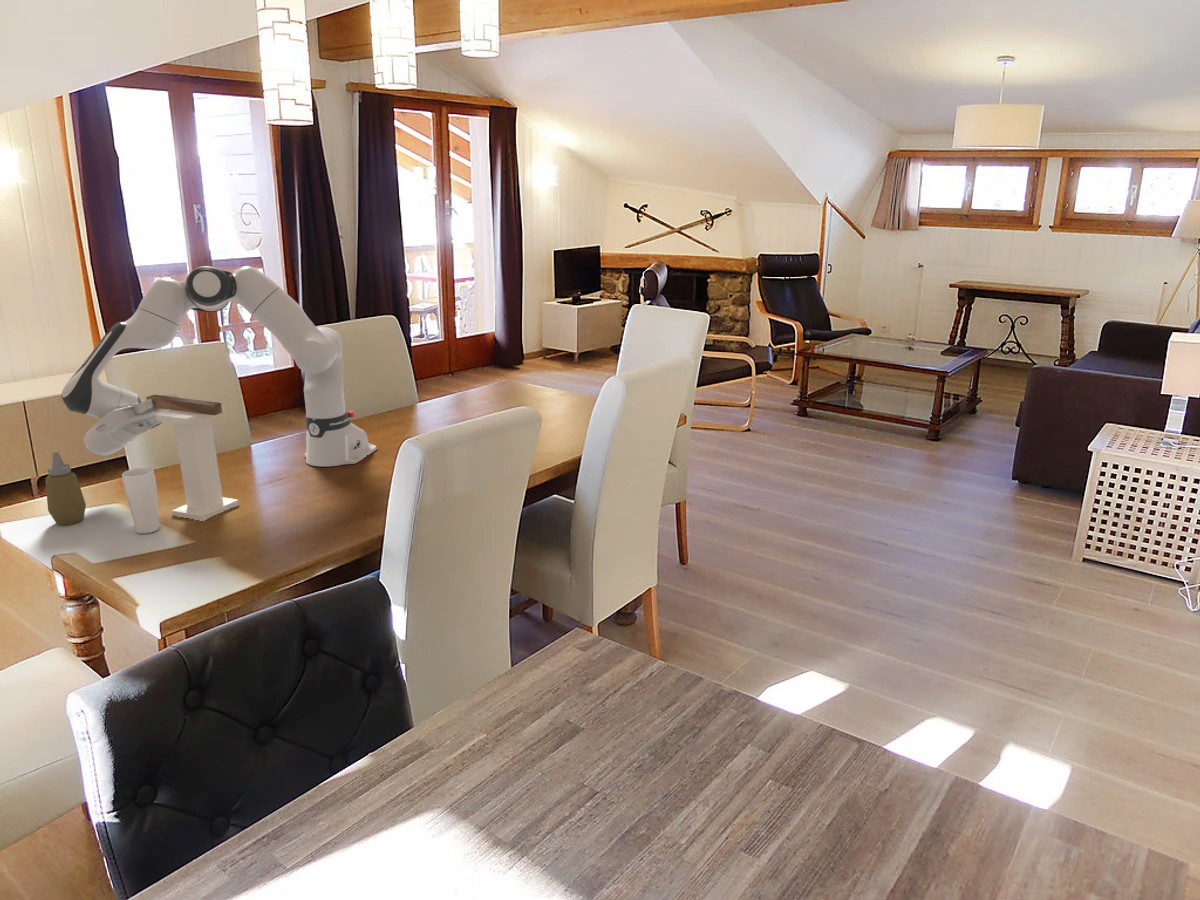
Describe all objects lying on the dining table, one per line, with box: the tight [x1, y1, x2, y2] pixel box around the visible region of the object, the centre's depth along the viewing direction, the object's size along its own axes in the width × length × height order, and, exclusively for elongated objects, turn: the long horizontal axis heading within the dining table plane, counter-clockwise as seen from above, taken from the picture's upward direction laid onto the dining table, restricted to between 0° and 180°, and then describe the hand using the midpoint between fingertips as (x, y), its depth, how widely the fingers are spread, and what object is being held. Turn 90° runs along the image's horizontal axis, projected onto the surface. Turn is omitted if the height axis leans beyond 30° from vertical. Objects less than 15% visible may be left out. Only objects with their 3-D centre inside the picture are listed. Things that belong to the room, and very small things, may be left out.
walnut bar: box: [145, 394, 223, 416], centre depth 212 cm, size 2×22×2 cm, turn 67°
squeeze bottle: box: [44, 451, 87, 526], centre depth 211 cm, size 8×8×18 cm
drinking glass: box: [121, 467, 161, 535], centre depth 205 cm, size 7×7×15 cm
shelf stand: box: [156, 405, 240, 522], centre depth 216 cm, size 12×10×26 cm
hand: (158, 399), depth 215 cm, fingers closed on walnut bar, 2 cm apart
